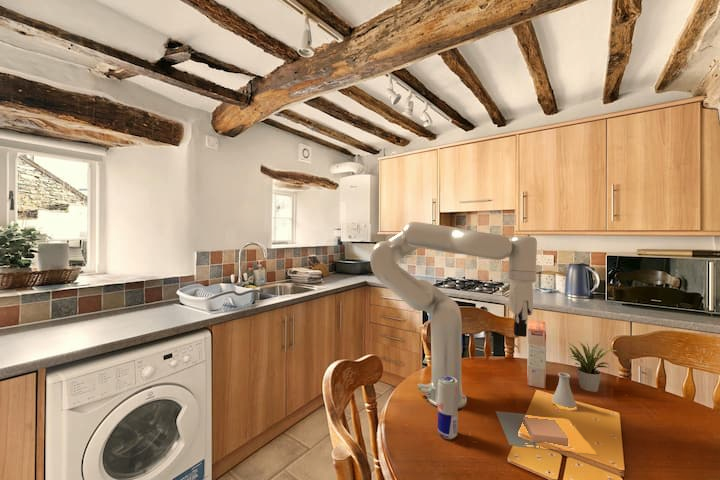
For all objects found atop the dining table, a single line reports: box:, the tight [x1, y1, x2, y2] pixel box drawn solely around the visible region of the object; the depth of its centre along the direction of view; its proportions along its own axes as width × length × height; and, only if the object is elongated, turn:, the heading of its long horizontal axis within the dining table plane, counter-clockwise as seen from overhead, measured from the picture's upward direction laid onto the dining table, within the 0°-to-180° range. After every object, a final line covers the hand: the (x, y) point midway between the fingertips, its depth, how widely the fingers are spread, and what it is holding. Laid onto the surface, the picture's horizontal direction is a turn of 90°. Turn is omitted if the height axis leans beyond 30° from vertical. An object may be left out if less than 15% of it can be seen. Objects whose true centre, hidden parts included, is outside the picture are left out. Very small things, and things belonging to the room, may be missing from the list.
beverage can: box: [437, 376, 459, 440], centre depth 84 cm, size 5×5×15 cm
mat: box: [495, 410, 540, 449], centre depth 85 cm, size 20×16×1 cm
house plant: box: [568, 340, 617, 393], centre depth 110 cm, size 14×14×16 cm
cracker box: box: [527, 319, 547, 390], centre depth 116 cm, size 14×6×21 cm, turn 150°
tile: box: [523, 417, 568, 446], centre depth 83 cm, size 8×2×8 cm
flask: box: [551, 372, 578, 408], centre depth 98 cm, size 7×7×10 cm
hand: (520, 335), depth 96 cm, fingers closed
